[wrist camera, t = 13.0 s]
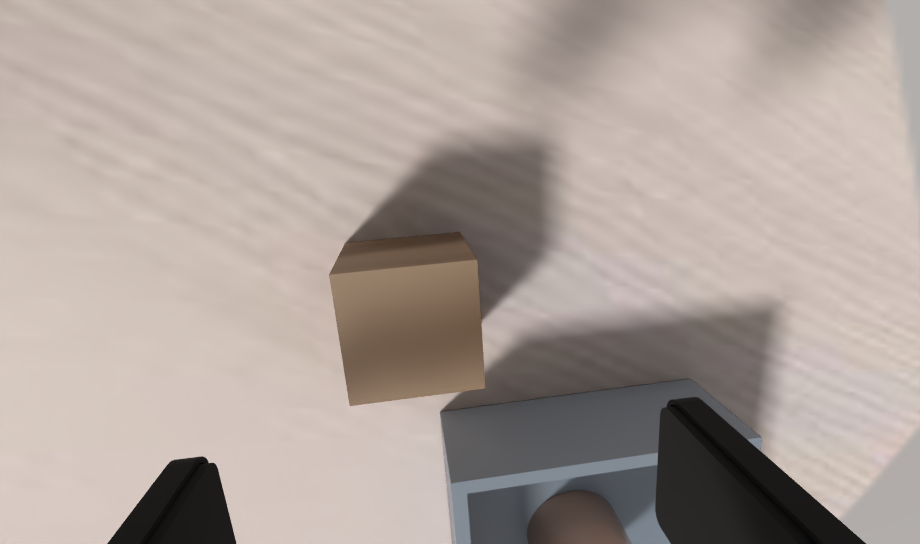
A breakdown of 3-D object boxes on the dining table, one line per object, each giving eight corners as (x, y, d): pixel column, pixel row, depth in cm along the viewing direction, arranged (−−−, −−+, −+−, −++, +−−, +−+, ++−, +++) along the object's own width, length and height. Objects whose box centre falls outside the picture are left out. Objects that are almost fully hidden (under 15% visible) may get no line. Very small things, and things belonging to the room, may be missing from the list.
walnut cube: (345, 242, 20) (329, 274, 15) (459, 231, 21) (477, 259, 16) (360, 346, 22) (349, 406, 17) (466, 334, 22) (485, 388, 17)
